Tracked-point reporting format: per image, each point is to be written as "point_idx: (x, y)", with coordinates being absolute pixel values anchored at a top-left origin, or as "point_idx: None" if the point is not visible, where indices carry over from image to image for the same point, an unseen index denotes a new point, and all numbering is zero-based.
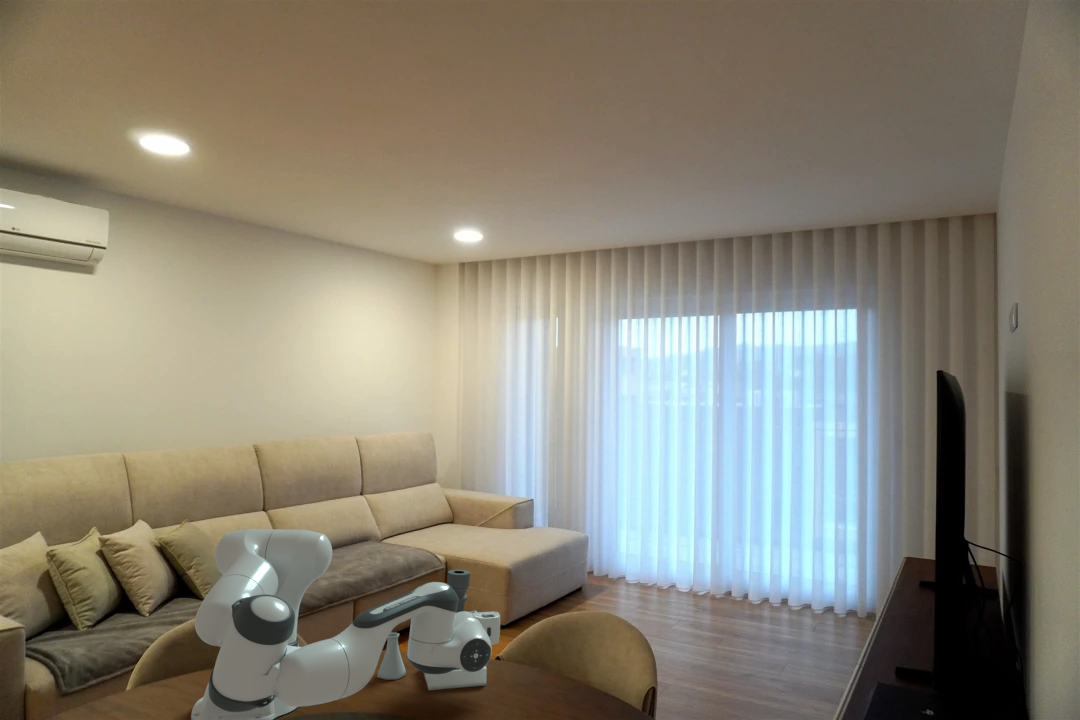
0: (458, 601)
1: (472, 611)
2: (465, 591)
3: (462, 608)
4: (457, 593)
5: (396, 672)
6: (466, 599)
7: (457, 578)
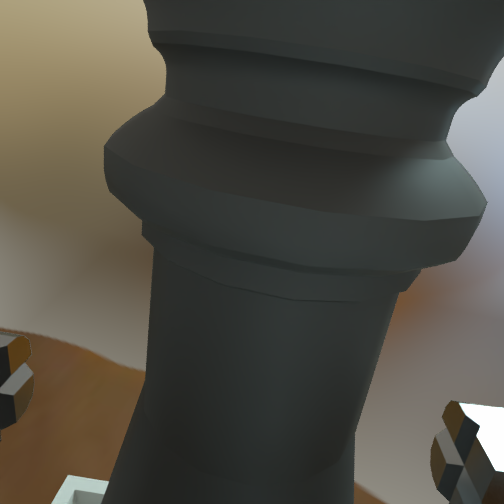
0: (272, 257)
1: (496, 432)
2: (495, 48)
3: (346, 381)
4: (275, 40)
5: None
6: (467, 242)
7: None
